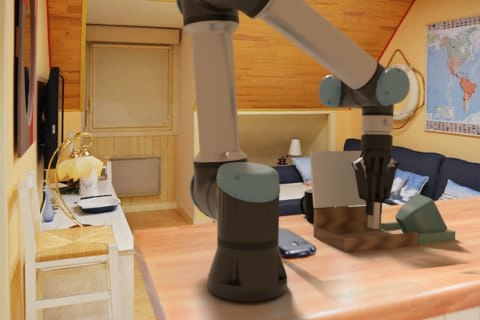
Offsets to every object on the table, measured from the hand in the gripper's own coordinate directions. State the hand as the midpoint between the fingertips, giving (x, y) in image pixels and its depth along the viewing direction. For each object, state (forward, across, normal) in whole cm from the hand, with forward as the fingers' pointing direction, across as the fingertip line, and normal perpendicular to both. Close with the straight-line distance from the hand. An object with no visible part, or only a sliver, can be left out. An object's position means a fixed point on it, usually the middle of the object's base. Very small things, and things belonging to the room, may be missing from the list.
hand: (373, 227), depth 115 cm
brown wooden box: (+3, -3, 0) cm, 4 cm away
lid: (-4, -3, +7) cm, 9 cm away
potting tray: (+3, +13, 0) cm, 13 cm away
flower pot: (+1, +9, 0) cm, 9 cm away
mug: (+4, -4, +22) cm, 22 cm away
